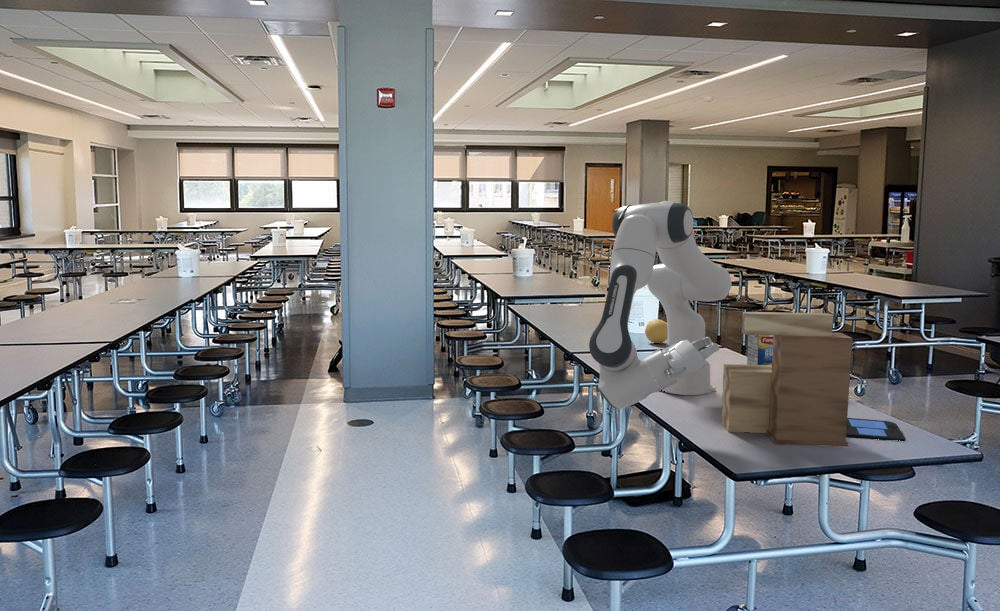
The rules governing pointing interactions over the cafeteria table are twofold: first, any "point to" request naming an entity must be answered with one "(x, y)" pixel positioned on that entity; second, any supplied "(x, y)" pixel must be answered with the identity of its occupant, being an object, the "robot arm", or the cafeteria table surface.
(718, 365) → the cafeteria table surface
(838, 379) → the walnut block
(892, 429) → the game console
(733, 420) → the oak stand
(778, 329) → the maple batten
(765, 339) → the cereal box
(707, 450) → the cafeteria table surface
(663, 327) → the stress ball
